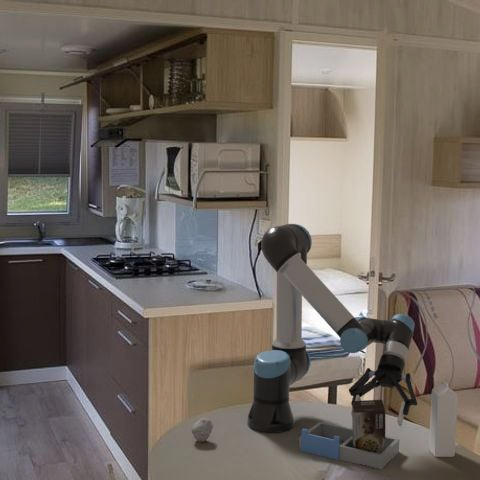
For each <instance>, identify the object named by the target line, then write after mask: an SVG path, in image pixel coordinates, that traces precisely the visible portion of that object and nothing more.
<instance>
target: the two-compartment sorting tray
mask: <svg viewBox="0 0 480 480" xmlns="http://www.w3.org/2000/svg"><path fill="white" fill-rule="evenodd" d="M298 438H299V439H298V441H299V442H298V450H299V451H300V452H304V453H309V454H313V455H316V456H320V457H324V458H329V459H332V460H337V461H339V460H341V461H345V462H349V463H353V464H356V465H360V464H363V465H362V466H364V465H367V466H366V467H368V466H371V467H370V468H372V467H374V468H373V469H377V468H378V469H377V470H381V469H382V468H383V467H384V466H385V465H386V464H387V463H388V462H389V461H390V460H391V459H392V460H393V459H394V458H395V456H396V455H398V454H399V453H400V440H401V439H400V438H397V437H396V438H395V437H392V436H386V435H385V444H386V449H385V450H384V451H383V452H382V453H381V454H377V453H373V452H368V451H364V450H360V449H356V448H353V433H352V428H350V427H346V426H341V425H337V424H332V423H327V422H323V421H319V422H318V423H316V424H315V425H314V426H312V427H310V428H309V429H308V428H301V435H299V437H298ZM340 441H344V442H343V443H341V442H340ZM340 443H341V444H340ZM390 462H391V461H390ZM390 462H389V463H390ZM357 463H358V464H357ZM389 463H388V464H389ZM388 464H387V465H388ZM387 465H386V466H387ZM386 466H385V467H386ZM385 467H384V468H385ZM384 468H383V469H384ZM383 469H382V470H383Z"/></svg>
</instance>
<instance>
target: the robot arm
mask: <svg viewBox="0 0 480 480" xmlns="http://www.w3.org/2000/svg"><path fill="white" fill-rule="evenodd" d="M260 244H261V245H260V247H261V252H262V254H263V257H264V259H265V260H266V261H267V263H268V264H269V265H270V266H271V268H272V269H274V270H275V272H276V337H275V339H274V340H273V341H272V343H271V349H270V350H267V351H265V350H264V351H262V352H259V353H258V354H257V355H256V356H255V357H254V363H253V397H252V398H253V401H252V403H251V406H250V409H249V412H248V415H247V426H248V427H249V428H250V429H252V430H255V431H258V432H263V433H282V432H286V431H289V430H291V429H292V428H293V427H294V424H295V423H294V422H295V420H294V415H293V411H292V408H291V405H290V404H291V403H290V386H291V385H293V384H295V383H296V382H298V381H300V380H302V378H304V377H305V375H306V374H308V372H309V370H310V368H311V356H310V353H309V352H308V351H307V343H306V342H305V340H303V337H302V333H303V331H302V330H303V329H302V328H303V327H302V326H303V325H302V323H303V322H302V321H303V320H302V319H303V315H302V313H303V298H304V299H305V300H306V301H307V303H309V305H310V306H311V307H312V308H313V309H314V311H316V312H317V314H318V315H319V316H320V317H321V318H322V320H324V322H326V323H327V325H328V326H329V327H330V328H331V329H332V331H334V332H335V334H336V335H337V336H338V337H339V342H340V346H341V348H342V349H343V350H344V352H347V353H349V354H356V353H359V352H361V351H364V350H365V349H366V348H367V347H368V346H370V345H371V344H373V343H376V344H383V349H382V352H381V354H380V355H381V356H380V358H379V362H378V364H377V365H378V366H377V369H376V370H372V369H371V368H370V367H368V368H366V370H365V372H364V373H363V374H362V375H361V377H360V378H358V380H357V381H355V383H353V385H352V386H351V387H349V389H348V393H349V394H350V396H352V399H351V403H350V404H351V406H352V401H362V398H361V397H363V396H365V395H366V394H368V393H369V392H371V391H372V390H373V389H375V388H378V387H383V388H386V387H387V388H389V389H391V388H395V390H396V391H397V393H398V394H399V396H400V398H402V401H401V405H400V409H399V413H398V416H397V421H396V422H397V424H398V426H399V427H402V426H403V423H404V422H403V421H404V418H405V416H408V415H409V412H410V409H411V408H410V407H412V406H417V405H418V400H417V398H416V395H415V392H414V388H413V385H412V376H411V374H410V373H409V372H407V373H406V374H403V372H404V368H405V363H406V360H407V358H408V357H407V356H408V354H409V349H410V347H411V342H412V340H413V336H414V331H415V326H416V324H415V321H414V319H413V318H412V317H411V316H409V315H407V314H404V313H398V314H395V315H393V316H392V318H391V320H389V319H387V320H386V319H379V318H373V317H371V318H370V317H366V316H363V317H361V316H355V317H354V315H353V314H352V313H351V312H350V311H349V310H348V308H346V307H345V305H344V304H343V303H342V302H341V301H340V300H339V299H338V298H337V297H336V295H335V294H334V293H333V292H332V291H331V290H330V289H329V288H328V287H327V285H326V284H325V283H324V282H323V281H322V280H321V279H320V278H319V276H318V275H316V273H315V272H314V271H313V270H312V269H311V268H310V267H309V266H308V264H307V263H308V253H309V252H310V250H311V248H312V245H313V241H312V236H311V233H310V232H309V230H307V228H306V227H304V226H303V225H302V224H297V223H286V224H283V225H278V226H273V227H271V228H269V229H268V230H266V231H265V233H264V234H263V235H262V238H261V242H260ZM371 378H372V379H371ZM370 379H371V380H370ZM402 380H403V381H404V383H406V387H407V389H408V392H409V395H410V398H411V399H410V398H409V397H408V395H407V394H406V392H405V391H404V389H403V388H402V386H401V385H400V382H402ZM350 414H351V416H352V411H351V412H350Z"/></svg>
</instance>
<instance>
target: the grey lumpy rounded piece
mask: <svg viewBox="0 0 480 480" xmlns="http://www.w3.org/2000/svg"><path fill="white" fill-rule="evenodd" d="M213 423H214V422H213V421H212V420H210V419H208V418H207V417H201V418H200V419H199V420H197V421H196V422H195V423H194V424H193V426H192V428H191V433H192V434H193V438H194V439H195V440H196V441H197V442H199V443H200V442H203V443H204V442H206V441H207V440H208V439H209V438H210V435H211V433H212V431H213V427H214V424H213Z"/></svg>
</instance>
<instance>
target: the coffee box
mask: <svg viewBox="0 0 480 480" xmlns="http://www.w3.org/2000/svg"><path fill="white" fill-rule="evenodd" d="M351 402H352V405H351V412H352V415H351V417H352V419H351V420H352V421H351V422H352V426H351V427H352V428H351V429H352V433H353V448H356V449H360V450H364V451H368V452H373V453H377V454H381V453H382V452H383V451H384V450H385V449H386V444H385V436H386V408H385V406H384V402H383V400H382V399H371V400H369V399H367V400H361V401H352V400H351Z"/></svg>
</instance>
